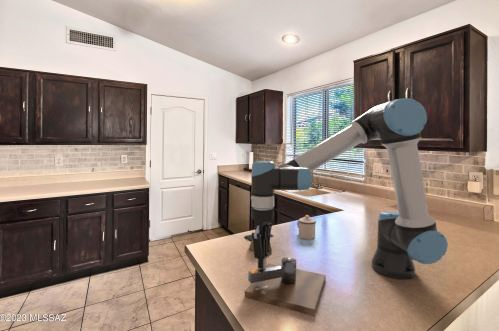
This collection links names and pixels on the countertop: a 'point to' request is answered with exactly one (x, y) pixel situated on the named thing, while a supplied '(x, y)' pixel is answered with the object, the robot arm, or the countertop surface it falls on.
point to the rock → (253, 248)
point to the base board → (290, 291)
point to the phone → (249, 237)
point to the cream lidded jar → (306, 227)
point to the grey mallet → (276, 272)
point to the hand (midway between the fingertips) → (261, 275)
